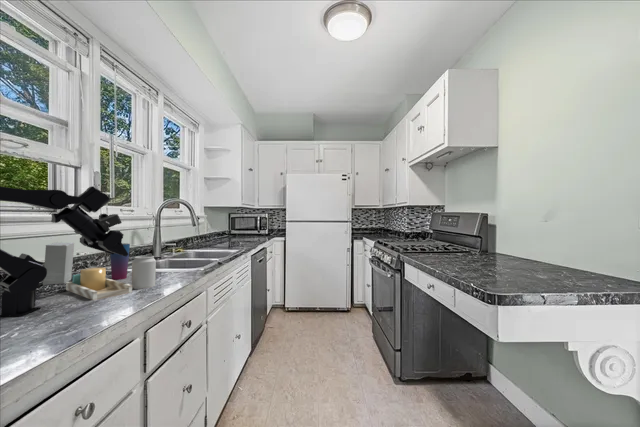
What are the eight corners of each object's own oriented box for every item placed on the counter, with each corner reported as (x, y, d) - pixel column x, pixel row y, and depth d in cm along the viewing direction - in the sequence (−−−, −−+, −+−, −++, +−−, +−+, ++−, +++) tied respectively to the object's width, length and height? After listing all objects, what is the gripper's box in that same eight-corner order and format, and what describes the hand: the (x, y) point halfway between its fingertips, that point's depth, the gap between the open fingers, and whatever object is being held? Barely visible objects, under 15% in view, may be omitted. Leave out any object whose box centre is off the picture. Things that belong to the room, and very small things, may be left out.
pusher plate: (101, 284, 106) (102, 271, 106) (73, 289, 99) (73, 275, 99) (100, 284, 107) (101, 271, 107) (72, 288, 100) (72, 275, 100)
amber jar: (97, 291, 98) (98, 271, 98) (74, 291, 97) (75, 271, 97) (109, 286, 105) (110, 267, 105) (88, 286, 104) (89, 267, 104)
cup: (104, 281, 116) (105, 244, 116) (120, 278, 123) (121, 243, 123) (117, 282, 114) (118, 245, 114) (133, 279, 121) (133, 243, 121)
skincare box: (51, 282, 113) (52, 242, 113) (74, 281, 116) (75, 241, 116) (41, 287, 105) (42, 244, 105) (66, 285, 108) (67, 243, 108)
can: (159, 286, 109) (160, 255, 109) (145, 291, 102) (146, 257, 102) (141, 285, 110) (142, 254, 110) (126, 290, 102) (127, 257, 102)
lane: (131, 294, 97) (132, 285, 97) (93, 302, 88) (93, 292, 88) (102, 285, 109) (103, 277, 109) (65, 292, 99) (66, 282, 99)
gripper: (117, 205, 90) (152, 238, 99) (91, 205, 100) (125, 235, 109) (85, 231, 83) (126, 264, 92) (61, 228, 93) (100, 259, 102)
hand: (120, 254), depth 99 cm, fingers open, 9 cm apart
